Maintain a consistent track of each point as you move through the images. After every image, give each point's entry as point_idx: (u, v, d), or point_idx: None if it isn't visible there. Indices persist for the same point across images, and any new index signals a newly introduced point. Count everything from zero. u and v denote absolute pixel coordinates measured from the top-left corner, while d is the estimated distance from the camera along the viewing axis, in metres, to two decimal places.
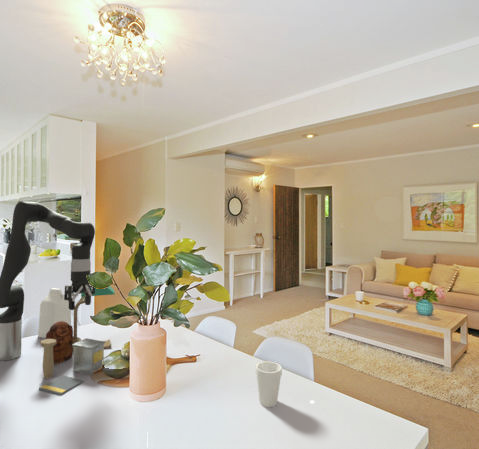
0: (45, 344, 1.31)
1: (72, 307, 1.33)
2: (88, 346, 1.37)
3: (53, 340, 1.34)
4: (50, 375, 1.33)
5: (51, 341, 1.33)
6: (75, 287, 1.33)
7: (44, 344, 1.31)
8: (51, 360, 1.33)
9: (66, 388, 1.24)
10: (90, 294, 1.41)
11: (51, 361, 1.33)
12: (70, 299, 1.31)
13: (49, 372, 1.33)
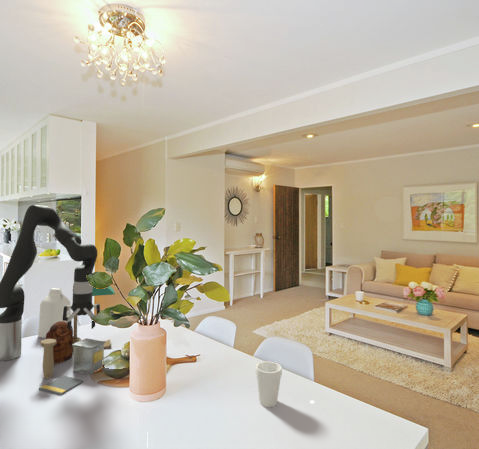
0: (45, 345, 1.31)
1: None
2: (88, 346, 1.37)
3: (53, 340, 1.34)
4: (50, 375, 1.33)
5: (51, 341, 1.33)
6: (72, 308, 1.35)
7: (44, 344, 1.31)
8: (51, 360, 1.33)
9: (66, 388, 1.24)
10: None
11: (51, 361, 1.33)
12: (64, 319, 1.34)
13: (49, 372, 1.33)
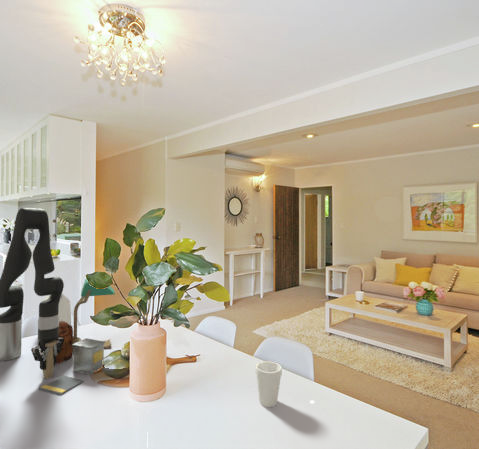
0: (45, 344, 1.31)
1: (43, 367, 1.31)
2: (88, 346, 1.37)
3: (53, 340, 1.34)
4: (50, 375, 1.33)
5: (51, 341, 1.33)
6: (42, 348, 1.30)
7: None
8: (51, 360, 1.33)
9: (66, 388, 1.24)
10: (55, 354, 1.36)
11: (51, 361, 1.33)
12: (41, 359, 1.29)
13: (49, 372, 1.33)
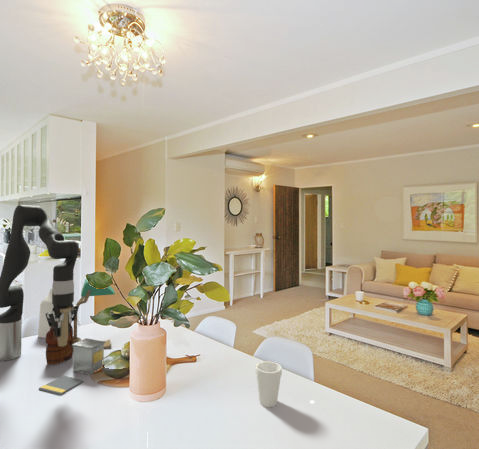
0: None
1: (58, 334, 1.25)
2: (88, 346, 1.37)
3: None
4: (65, 343, 1.27)
5: (66, 307, 1.27)
6: (57, 314, 1.23)
7: None
8: (66, 327, 1.26)
9: (66, 388, 1.24)
10: (70, 321, 1.29)
11: (66, 328, 1.26)
12: (55, 325, 1.23)
13: (64, 340, 1.26)
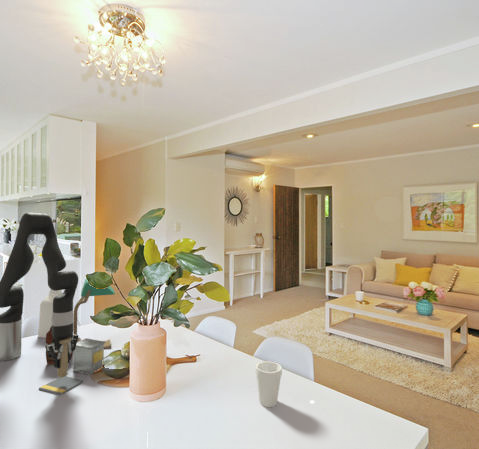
0: None
1: (57, 365, 1.25)
2: (88, 346, 1.37)
3: (67, 337, 1.28)
4: (64, 374, 1.27)
5: (65, 338, 1.27)
6: (56, 345, 1.24)
7: None
8: (66, 358, 1.27)
9: (66, 388, 1.24)
10: (69, 351, 1.29)
11: (66, 359, 1.27)
12: (55, 357, 1.23)
13: (63, 371, 1.26)
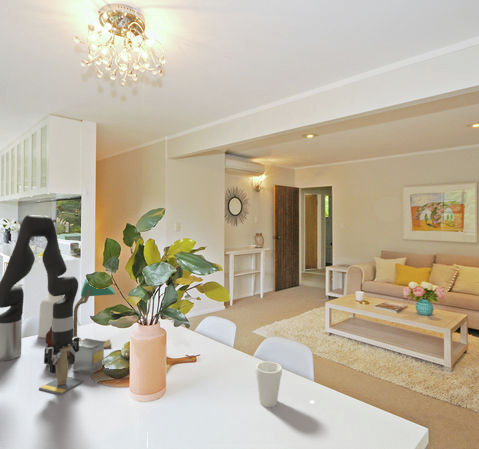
0: None
1: (53, 371, 1.23)
2: (88, 346, 1.37)
3: None
4: (64, 382, 1.27)
5: (65, 346, 1.27)
6: (56, 349, 1.23)
7: None
8: (65, 366, 1.27)
9: (66, 388, 1.24)
10: (74, 353, 1.31)
11: (65, 367, 1.27)
12: (50, 363, 1.21)
13: (63, 379, 1.26)
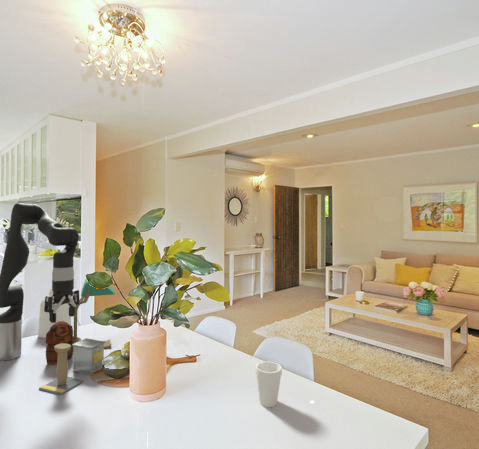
0: (59, 350, 1.25)
1: (53, 319, 1.23)
2: (88, 346, 1.37)
3: (67, 345, 1.28)
4: (64, 382, 1.27)
5: (65, 346, 1.27)
6: (56, 298, 1.24)
7: (58, 349, 1.25)
8: (65, 366, 1.27)
9: (66, 388, 1.24)
10: (74, 305, 1.31)
11: (65, 367, 1.27)
12: (51, 311, 1.21)
13: (63, 379, 1.26)
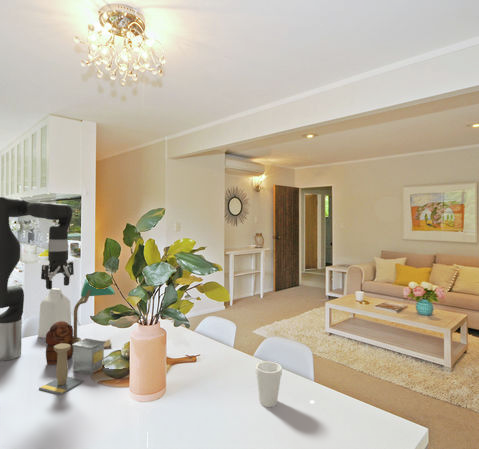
0: (58, 350, 1.25)
1: (49, 286, 1.35)
2: (88, 346, 1.37)
3: (67, 345, 1.28)
4: (64, 382, 1.27)
5: (65, 346, 1.27)
6: (52, 267, 1.36)
7: (58, 349, 1.25)
8: (65, 366, 1.27)
9: (66, 388, 1.24)
10: (68, 275, 1.44)
11: (65, 367, 1.27)
12: (47, 278, 1.33)
13: (63, 378, 1.26)
